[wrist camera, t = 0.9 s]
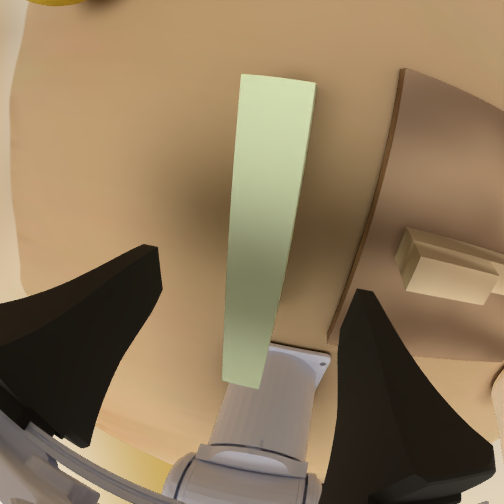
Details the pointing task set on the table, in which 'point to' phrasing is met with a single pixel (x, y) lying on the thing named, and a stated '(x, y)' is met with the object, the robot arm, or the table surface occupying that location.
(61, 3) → the lemon
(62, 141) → the table surface
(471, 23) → the table surface
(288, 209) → the slotted plate
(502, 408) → the cup
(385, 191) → the base
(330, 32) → the table surface
